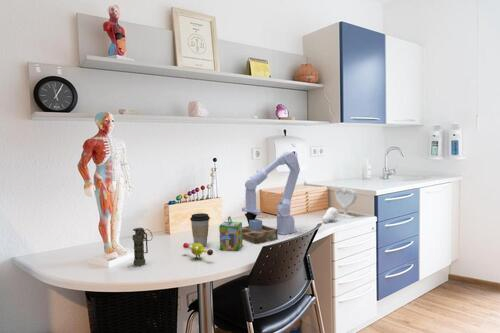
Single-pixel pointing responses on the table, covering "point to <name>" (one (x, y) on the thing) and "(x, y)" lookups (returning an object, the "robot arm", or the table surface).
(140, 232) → the grenade
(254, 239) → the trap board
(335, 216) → the penguin figurine
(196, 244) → the toy figure
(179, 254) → the table surface
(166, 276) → the table surface
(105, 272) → the table surface
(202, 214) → the coffee cup
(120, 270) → the table surface
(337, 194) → the heart sculpture
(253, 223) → the block
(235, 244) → the green printed box
